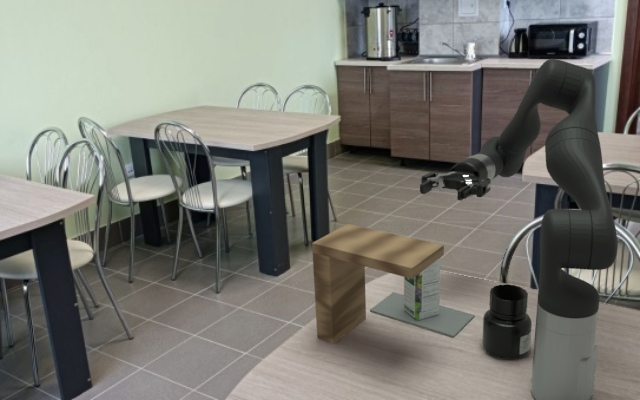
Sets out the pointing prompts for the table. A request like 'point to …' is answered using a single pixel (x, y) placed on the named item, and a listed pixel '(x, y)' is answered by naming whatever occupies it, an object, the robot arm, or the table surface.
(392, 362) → the table surface
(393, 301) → the mat
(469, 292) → the table surface
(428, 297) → the syrup box
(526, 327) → the ink bottle
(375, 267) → the shelf
